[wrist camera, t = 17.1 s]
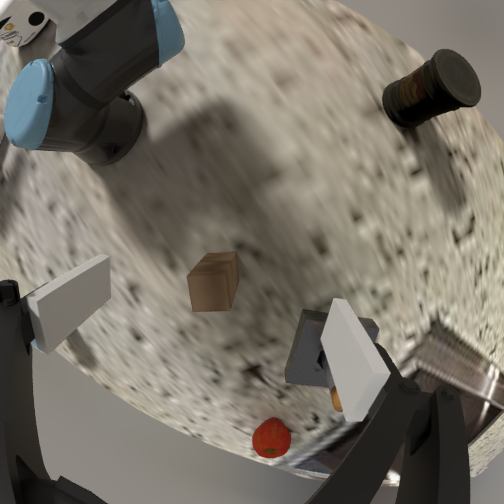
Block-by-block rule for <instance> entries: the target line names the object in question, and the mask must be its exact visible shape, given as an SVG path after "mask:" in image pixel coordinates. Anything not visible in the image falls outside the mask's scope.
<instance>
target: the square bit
mask: <svg viewBox="0 0 504 504" xmlns="http://www.w3.org/2000/svg"><path fill="white" fill-rule="evenodd" d="M187 281H188V287H189V293H190V299H191V304H192V310H193V312H210V311H230V309H231V305H232V302H233V299H234V295H235V292H236V289H237V285H238V282H239V275H238V265H237V255H236V252H223V253H209V254H206V255H205V256H204V257H203V258H202V260H201V261H200V262H199V263H198V264H197V265H196V266H195V267H194V269H193V270H192V271H191V272H190V273H189V274H188V275H187Z"/></svg>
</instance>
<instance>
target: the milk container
mask: <svg viewBox="0 0 504 504" xmlns="http://www.w3.org/2000/svg"><path fill="white" fill-rule="evenodd" d="M49 20H50V18H48V17H47V16H46V15H45V14H44V13H43V12H41V11H40V10H39V9H38V8H37V7H36V6H34V5H33V4H32V3H31V2H30V1H29V0H0V38H1V39H3V40H4V41H5V42H6V43H7V44H8V45H10V46H13V47H21V46H25V45H26V44H28V43H29V42H30V41H32V40H33V39H34V38H35V37H36V36H37V35H38V34H39V33H40V32H41V30H42V29H43V28H44V27H45V25H46V24H47V22H48V21H49Z"/></svg>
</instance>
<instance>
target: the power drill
mask: <svg viewBox="0 0 504 504" xmlns="http://www.w3.org/2000/svg"><path fill="white" fill-rule="evenodd" d="M4 133H5V127H4V115H1V114H0V145H1V142H2V139H3V136H4Z"/></svg>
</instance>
